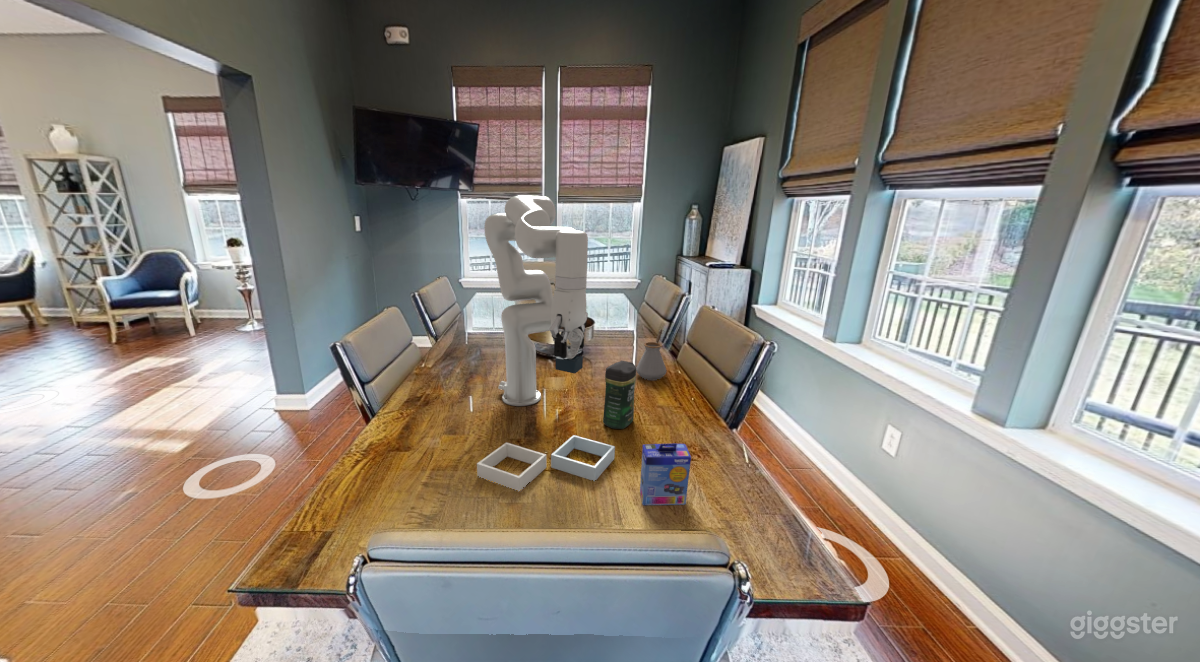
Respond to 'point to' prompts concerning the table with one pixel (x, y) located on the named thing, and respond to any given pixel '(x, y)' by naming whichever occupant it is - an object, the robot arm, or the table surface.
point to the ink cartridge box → (664, 474)
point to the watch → (571, 353)
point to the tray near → (506, 478)
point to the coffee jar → (619, 395)
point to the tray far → (578, 467)
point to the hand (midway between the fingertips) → (569, 351)
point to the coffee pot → (652, 361)
